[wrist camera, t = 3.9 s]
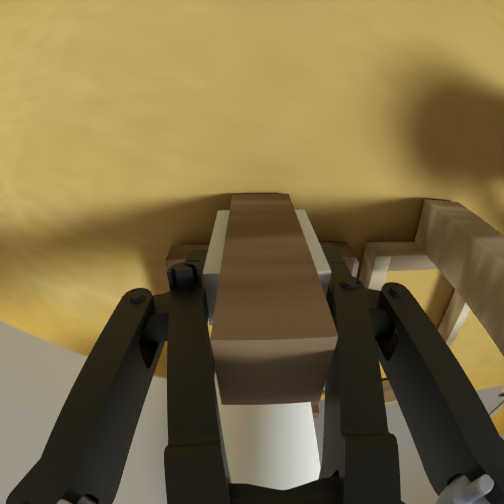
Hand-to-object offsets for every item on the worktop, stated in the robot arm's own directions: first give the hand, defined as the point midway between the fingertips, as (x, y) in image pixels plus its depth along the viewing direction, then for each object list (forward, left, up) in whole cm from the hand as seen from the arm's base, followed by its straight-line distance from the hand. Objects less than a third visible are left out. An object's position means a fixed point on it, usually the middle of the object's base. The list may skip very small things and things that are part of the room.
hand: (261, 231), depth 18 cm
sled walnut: (+9, 0, -2) cm, 10 cm away
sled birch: (+9, +14, -2) cm, 17 cm away
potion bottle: (+15, 0, -2) cm, 15 cm away
